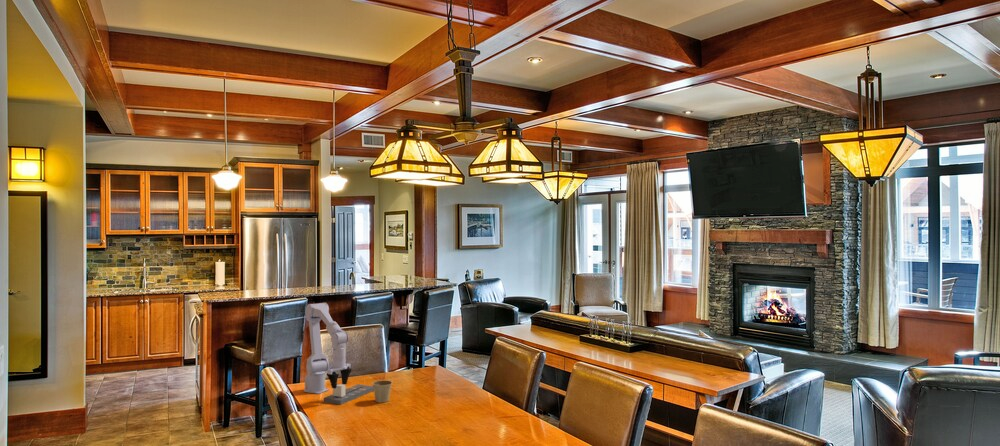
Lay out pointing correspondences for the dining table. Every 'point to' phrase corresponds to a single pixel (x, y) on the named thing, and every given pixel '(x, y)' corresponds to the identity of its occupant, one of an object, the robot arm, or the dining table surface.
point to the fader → (339, 390)
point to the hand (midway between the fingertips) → (339, 386)
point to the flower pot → (382, 390)
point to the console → (349, 394)
